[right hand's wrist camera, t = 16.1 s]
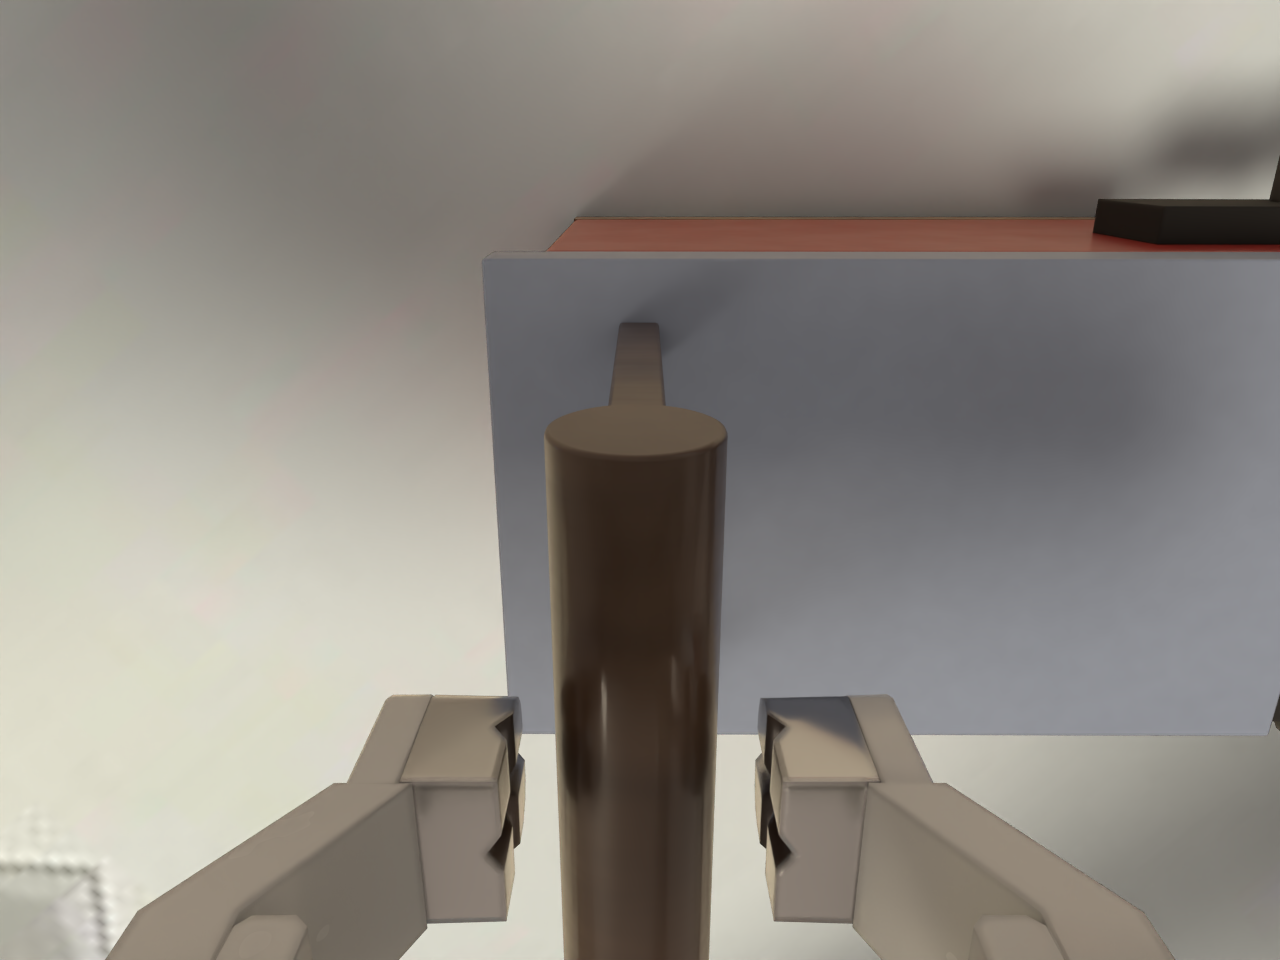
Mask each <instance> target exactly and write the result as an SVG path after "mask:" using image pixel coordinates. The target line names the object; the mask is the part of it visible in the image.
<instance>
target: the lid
mask: <svg viewBox="0 0 1280 960" xmlns="http://www.w3.org/2000/svg"><path fill="white" fill-rule="evenodd" d="M482 271H483V288H484V305H485V321H486V338H487V355H488V372H489V388H490V405H491V422H492V438H493V455H494V472H495V489H496V505H497V522H498V539H499V555H500V572H501V589H502V605H503V622H504V639H505V656H506V672H507V689H508V696H516V697H519V699H520V702H521V711H522V724H523V730H522V734H555V735H556V761H557V787H558V813H559V838H560V864H561V890H562V916H563V941H564V960H709V942H710V914H711V887H712V859H713V831H714V804H715V776H716V748H717V734H758V729H757V725H758V709H759V703H760V698H776V697H827V696H845V695H874V694H888V695H889V696H891V697H892V698H893V699H894V701H895V703H896V705H897V707H898V709H899V711H900V714H901V716H902V718H903V720H904V722H905V724H906V726H907V728H908V730H909V733H910V735H1158V736H1267V735H1268V733H1269V730H1270V726H1271V723H1272V719H1273V716H1274V713H1275V709H1276V706H1277V702H1278V699H1279V695H1280V252H604V251H495V252H493V253H491V254H490V255H488V256H487V257H485V258H484V259H483V260H482Z"/></svg>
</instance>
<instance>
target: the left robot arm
mask: <svg viewBox="0 0 1280 960" xmlns="http://www.w3.org/2000/svg"><path fill="white" fill-rule="evenodd" d="M1093 233H1096V234H1102V235H1107V236H1113V237H1118V238H1124V239H1129V240H1135V241H1140V242H1146V243H1151V244H1157V245H1280V157H1279V161H1278V165H1277V170H1276V174H1275V178H1274V182H1273V187H1272V191H1271V195H1270V199H1269V200H1258V199H1098V204H1097V210H1096V216H1095V222H1094V227H1093ZM1272 721H1274V722H1275V725H1276V728H1277V729H1278V730H1279V731H1280V695H1279V699H1278V702H1277V706H1276V709H1275V713H1274V716H1273V719H1272Z"/></svg>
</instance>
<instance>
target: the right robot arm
mask: <svg viewBox="0 0 1280 960" xmlns="http://www.w3.org/2000/svg"><path fill="white" fill-rule="evenodd" d="M757 729H758V734H759V740H760V745H761V750H762V753H761V754H760V756H759V757H758V758H757V759H756V761H755V811H756V820H757V828H758V834H759V841H760V844H761V845H762V846H764V847H765V848H766V866H765V876H766V881H767V886H768V892H769V897H770V903H771V908H772V914H773V919H774V921H781V922H817V923H852V924H853V928H854V929H855V930H856V932H857V933H858V934H859V935H860V936H861V937H862V938H863V939H864V940H865V942H866V943H867V944H868V945H869V946H870V947H871V948H872V949H873V950H874V952H875V953H876V954H877V955H878V956H879V957H880V958H881V959H882V960H1175V959H1174V957H1173V956H1172V954H1171V953H1170V951H1169V950H1168V948H1167V947H1166V945H1165V944H1164V942H1163V941H1162V939H1161V938H1160V936H1159V935H1158V933H1157V932H1156V930H1155V929H1154V927H1153V925H1152V924H1151V922H1150V921H1149V919H1148V918H1147V916H1146V915H1145V913H1144V912H1142V911H1141V910H1139V909H1138V908H1136V907H1135V906H1133V905H1132V904H1130V903H1129V902H1127V901H1126V900H1124V899H1123V898H1121V897H1119V896H1118V895H1116V894H1115V893H1113V892H1112V891H1110V890H1109V889H1107V888H1106V887H1104V886H1103V885H1101V884H1100V883H1098V882H1097V881H1095V880H1093V879H1092V878H1090V877H1089V876H1087V875H1086V874H1084V873H1083V872H1081V871H1080V870H1078V869H1077V868H1075V867H1074V866H1072V865H1071V864H1069V863H1067V862H1066V861H1064V860H1063V859H1061V858H1060V857H1058V856H1057V855H1055V854H1054V853H1052V852H1051V851H1049V850H1048V849H1046V848H1045V847H1043V846H1041V845H1040V844H1038V843H1037V842H1035V841H1034V840H1032V839H1031V838H1029V837H1028V836H1026V835H1025V834H1023V833H1022V832H1020V831H1019V830H1017V829H1015V828H1014V827H1012V826H1011V825H1009V824H1008V823H1006V822H1005V821H1003V820H1002V819H1000V818H999V817H997V816H996V815H994V814H993V813H991V812H989V811H988V810H986V809H985V808H983V807H982V806H980V805H979V804H977V803H976V802H974V801H973V800H971V799H970V798H968V797H967V796H965V795H963V794H962V793H960V792H959V791H957V790H956V789H954V788H953V787H951V786H950V785H948V784H947V783H933V781H932V779H931V777H930V775H929V773H928V771H927V768H926V766H925V764H924V762H923V760H922V758H921V756H920V754H919V752H918V749H917V747H916V745H915V743H914V741H913V739H912V737H911V735H910V733H909V730H908V728H907V726H906V724H905V722H904V720H903V718H902V716H901V714H900V711H899V709H898V707H897V705H896V703H895V701H894V699H893V698H892V697H891V696H889V695H888V694H874V695H845V696H827V697H776V698H760V703H759V709H758V725H757ZM522 730H523V724H522V711H521V702H520V699H519V697H516V696H468V695H435V696H433V695H392V696H390V697H389V698H387V700H386V701H385V702H384V704H383V707H382V709H381V711H380V713H379V715H378V717H377V719H376V721H375V724H374V726H373V728H372V730H371V732H370V734H369V736H368V739H367V741H366V743H365V745H364V747H363V749H362V751H361V754H360V756H359V758H358V760H357V762H356V764H355V766H354V769H353V771H352V773H351V775H350V777H349V779H348V781H347V783H334V784H332V785H330V786H329V787H327V788H326V789H324V790H323V791H321V792H320V793H318V794H317V795H315V796H314V797H312V798H310V799H309V800H307V801H306V802H304V803H303V804H301V805H300V806H298V807H297V808H295V809H294V810H292V811H291V812H289V813H287V814H286V815H284V816H283V817H281V818H280V819H278V820H277V821H275V822H274V823H272V824H271V825H269V826H268V827H266V828H264V829H263V830H261V831H260V832H258V833H257V834H255V835H254V836H252V837H251V838H249V839H248V840H246V841H244V842H243V843H241V844H240V845H238V846H237V847H235V848H234V849H232V850H231V851H229V852H228V853H226V854H225V855H223V856H221V857H220V858H218V859H217V860H215V861H214V862H212V863H211V864H209V865H208V866H206V867H205V868H203V869H202V870H200V871H198V872H197V873H195V874H194V875H192V876H191V877H189V878H188V879H186V880H185V881H183V882H182V883H180V884H178V885H177V886H175V887H174V888H172V889H171V890H169V891H168V892H166V893H165V894H163V895H162V896H160V897H159V898H157V899H155V900H154V901H152V902H151V903H149V904H148V905H146V906H145V907H143V908H142V909H140V910H139V911H137V913H136V914H135V916H134V917H133V919H132V920H131V922H130V923H129V925H128V926H127V928H126V929H125V931H124V932H123V934H122V935H121V937H120V938H119V940H118V941H117V943H116V944H115V946H114V947H113V949H112V950H111V952H110V953H109V955H108V956H107V958H106V959H105V960H399V959H400V958H401V957H402V956H403V955H404V953H405V952H406V951H407V950H408V949H409V948H410V947H411V946H412V945H413V943H414V942H415V941H416V940H417V939H418V938H419V937H420V936H421V935H422V933H423V932H424V931H425V930H426V929H427V924H428V923H462V922H497V921H506V920H507V915H508V909H509V904H510V898H511V893H512V887H513V882H514V876H515V864H514V848H515V847H517V846H518V845H519V844H520V841H521V835H522V829H523V821H524V808H525V760H524V759H523V758H522V757H521V755H520V754H519V753H518V751H519V746H520V740H521V735H522Z"/></svg>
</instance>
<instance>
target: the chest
mask: <svg viewBox="0 0 1280 960" xmlns="http://www.w3.org/2000/svg"><path fill="white" fill-rule="evenodd" d="M1094 222H1095V217H576V218H575V219H574V222H573V224H572V225H571V226H570V227H569V228H568V229H567V230H566V231H565V232H564V233H563V234H562V235H561V236H560V237H559V238H558V239H557V240H556V241H555V242H554V243H553V244H552V245H551V247H550V248H549V249H548V250H547V251H604V252H1280V245H1157V244H1151V243H1146V242H1140V241H1135V240H1129V239H1124V238H1118V237H1113V236H1107V235H1102V234H1096V233H1093V227H1094Z"/></svg>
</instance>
